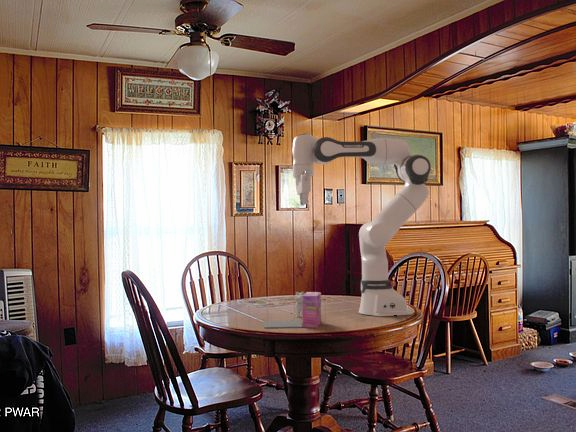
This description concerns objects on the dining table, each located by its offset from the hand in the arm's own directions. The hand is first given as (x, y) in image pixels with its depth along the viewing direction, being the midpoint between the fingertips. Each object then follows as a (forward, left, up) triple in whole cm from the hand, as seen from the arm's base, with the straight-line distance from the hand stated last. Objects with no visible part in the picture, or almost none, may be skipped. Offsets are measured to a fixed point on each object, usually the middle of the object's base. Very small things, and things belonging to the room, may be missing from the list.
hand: (303, 204), depth 219 cm
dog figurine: (+1, +4, -47) cm, 47 cm away
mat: (+10, +22, -47) cm, 52 cm away
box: (-1, +23, -47) cm, 52 cm away
